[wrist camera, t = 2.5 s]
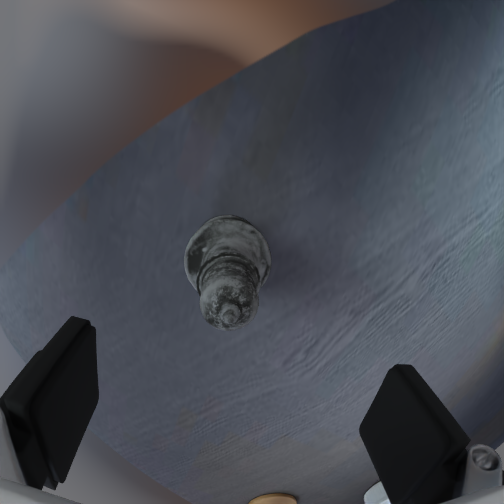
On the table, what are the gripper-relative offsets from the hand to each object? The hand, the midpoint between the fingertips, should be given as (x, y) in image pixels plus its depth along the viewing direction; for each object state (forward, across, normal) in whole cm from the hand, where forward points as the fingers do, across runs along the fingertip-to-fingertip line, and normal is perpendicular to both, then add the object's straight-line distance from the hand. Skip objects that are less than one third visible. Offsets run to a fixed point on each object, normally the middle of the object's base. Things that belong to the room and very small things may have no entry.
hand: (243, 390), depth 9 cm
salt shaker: (+17, 0, 0) cm, 17 cm away
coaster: (+17, -12, +36) cm, 42 cm away
